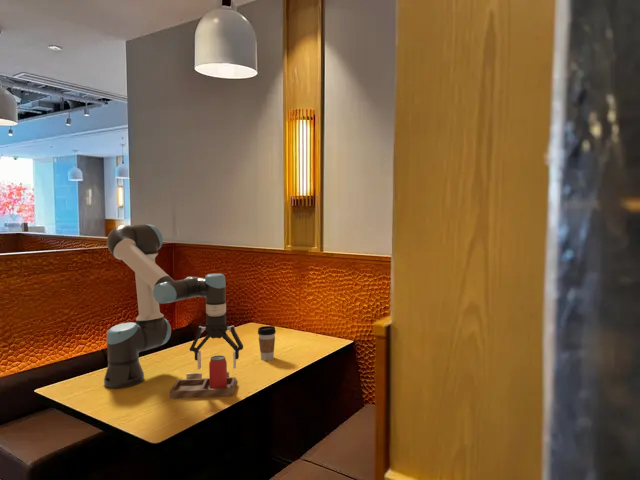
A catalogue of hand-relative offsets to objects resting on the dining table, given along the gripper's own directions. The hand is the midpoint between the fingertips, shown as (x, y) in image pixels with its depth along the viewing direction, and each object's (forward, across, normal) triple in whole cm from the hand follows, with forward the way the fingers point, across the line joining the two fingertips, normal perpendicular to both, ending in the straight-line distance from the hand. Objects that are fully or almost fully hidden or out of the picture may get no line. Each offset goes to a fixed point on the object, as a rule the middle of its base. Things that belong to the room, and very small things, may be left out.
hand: (217, 367), depth 174 cm
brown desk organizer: (+9, -5, +1) cm, 10 cm away
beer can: (+8, 0, 0) cm, 8 cm away
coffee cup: (+9, +18, +36) cm, 41 cm away
